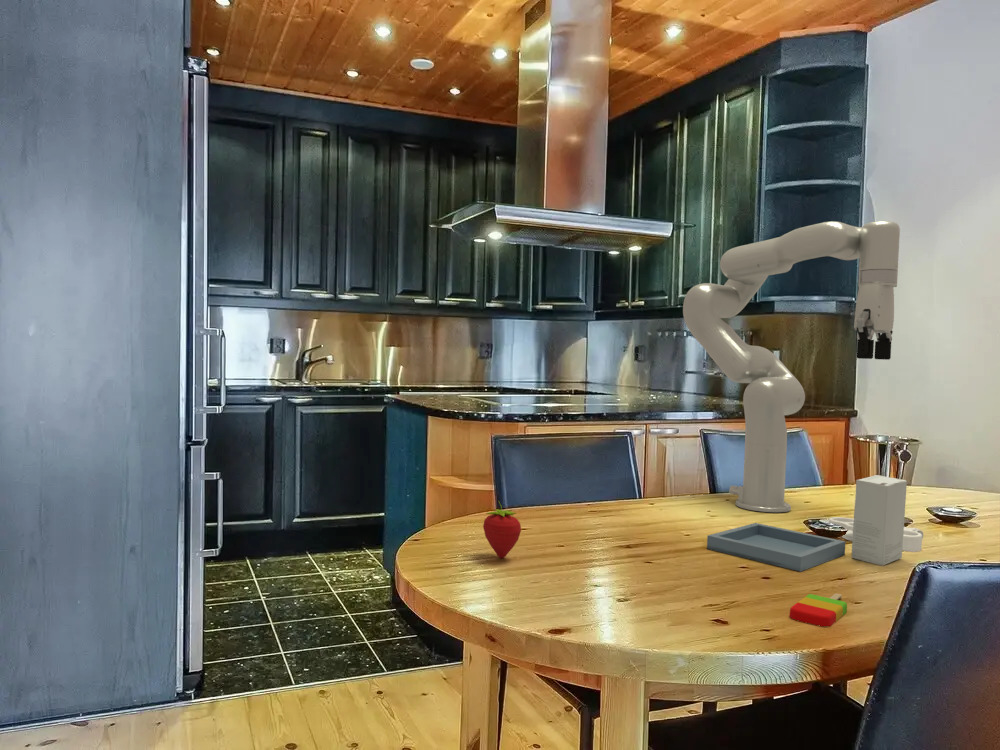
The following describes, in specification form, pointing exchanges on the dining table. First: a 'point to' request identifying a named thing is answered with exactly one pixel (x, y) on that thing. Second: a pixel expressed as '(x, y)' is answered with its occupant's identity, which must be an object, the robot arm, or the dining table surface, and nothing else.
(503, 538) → the strawberry
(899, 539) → the skincare box
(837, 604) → the popsicle
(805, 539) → the slate tray
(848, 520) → the knuckle duster
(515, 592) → the dining table surface
